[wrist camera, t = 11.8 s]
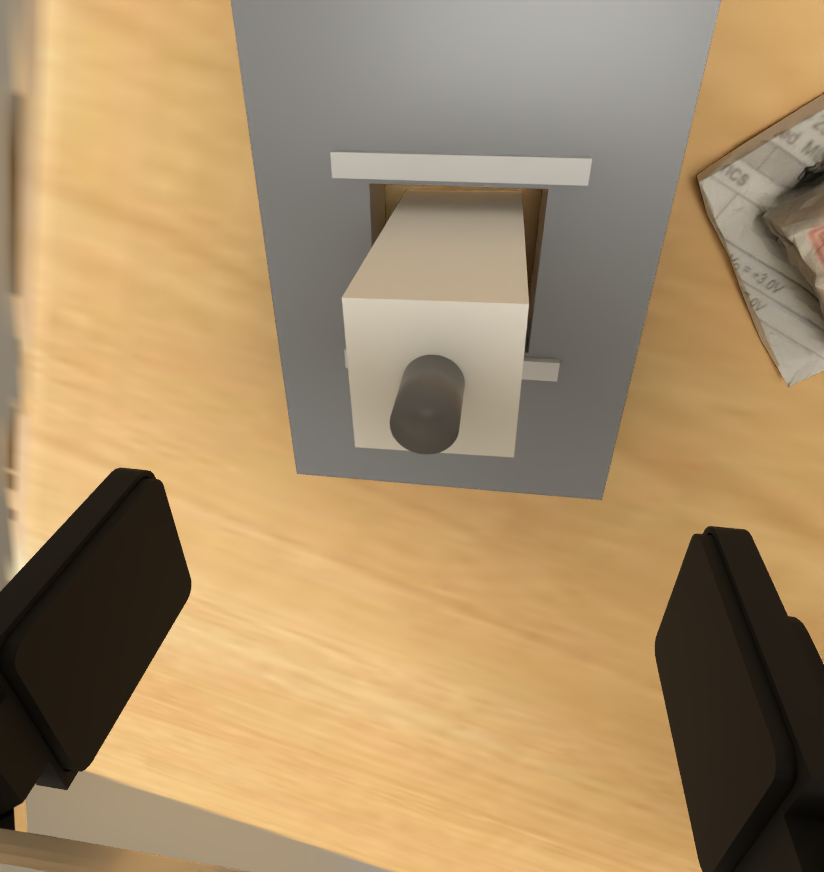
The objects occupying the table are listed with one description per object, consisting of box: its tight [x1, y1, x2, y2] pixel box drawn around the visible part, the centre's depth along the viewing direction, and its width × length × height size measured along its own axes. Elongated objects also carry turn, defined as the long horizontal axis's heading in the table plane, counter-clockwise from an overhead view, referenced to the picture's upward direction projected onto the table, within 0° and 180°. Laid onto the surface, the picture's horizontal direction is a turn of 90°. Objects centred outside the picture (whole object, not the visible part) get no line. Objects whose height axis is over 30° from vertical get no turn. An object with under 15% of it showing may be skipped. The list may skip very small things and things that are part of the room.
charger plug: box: [342, 190, 529, 458], centre depth 19 cm, size 4×4×13 cm
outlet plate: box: [231, 0, 721, 500], centre depth 23 cm, size 14×20×3 cm
